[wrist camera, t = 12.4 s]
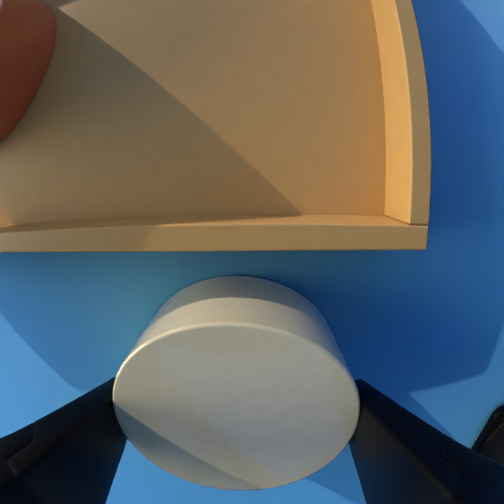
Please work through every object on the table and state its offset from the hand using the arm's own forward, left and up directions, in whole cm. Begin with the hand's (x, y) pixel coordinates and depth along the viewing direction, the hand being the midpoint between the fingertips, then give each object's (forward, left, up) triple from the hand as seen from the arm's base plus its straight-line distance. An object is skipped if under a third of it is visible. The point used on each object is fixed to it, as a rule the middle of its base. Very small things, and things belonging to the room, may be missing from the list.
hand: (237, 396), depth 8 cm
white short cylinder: (0, 0, -2) cm, 2 cm away
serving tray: (+11, +5, -2) cm, 12 cm away
